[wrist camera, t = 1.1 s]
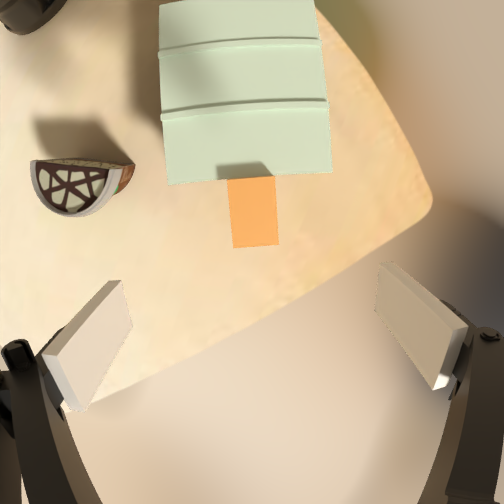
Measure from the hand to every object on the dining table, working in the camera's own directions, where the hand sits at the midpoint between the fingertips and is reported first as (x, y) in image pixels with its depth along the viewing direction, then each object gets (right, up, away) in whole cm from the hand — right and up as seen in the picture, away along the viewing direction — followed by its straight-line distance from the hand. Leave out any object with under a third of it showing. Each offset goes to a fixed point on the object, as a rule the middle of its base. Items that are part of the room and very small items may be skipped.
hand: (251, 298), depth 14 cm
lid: (-1, +15, +11) cm, 19 cm away
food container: (-20, +12, +22) cm, 32 cm away
